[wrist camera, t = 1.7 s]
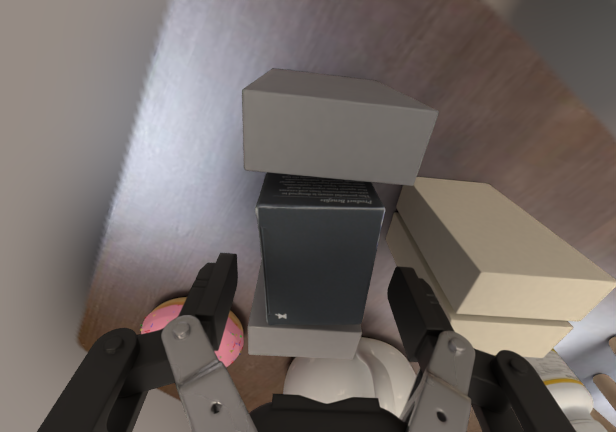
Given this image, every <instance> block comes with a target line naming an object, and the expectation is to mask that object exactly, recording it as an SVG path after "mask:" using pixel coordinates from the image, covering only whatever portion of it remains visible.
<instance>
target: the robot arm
mask: <svg viewBox="0 0 616 432" xmlns="http://www.w3.org/2000/svg"><path fill="white" fill-rule="evenodd" d="M237 281H238V272H237V255H236V254H230V253H220V254H219V257H218V259H217V262H216V263H207V264H206V265H205V266H204V267H203V268H202V269H200V271H199V273H198V275H197V277H196V280H195V282H194V284H193V286H192V288H191V290H190V292H189V294H188V296H187V298H186V300H185V303H184V305H183V307H182V309H181V311H180V313H179V315H178V317H177V318H175V319H173V320H171V321H170V322H169V323H168V324H167V325H166V326H165V327H164V328H162V329H160V330H157V331H153V332H148V333H144V334H139V335H136V333H135V332H134V331H133V330H131V329H128V328H119V329H115V330H112V331H110V332H108V333H106V334H104V335H103V336H101V337H100V338H99V339H98V340H97V341H96V342H95V343H94V344H93V346H92V347H91V349H90V350H89V352H88V354H87V355H86V357H85V358H84V360H83V361H82V363H81V364H80V366H79V367H78V369H77V371H76V372H75V374H74V375H73V377H72V378H71V380H70V381H69V383H68V385H67V386H66V388H65V390H64V391H63V392H62V394H61V395H60V397H59V398H58V400H57V402H56V403H55V405H54V406H53V408H52V409H51V411H50V412H49V414H48V416H47V417H46V419H45V420H44V422H43V423H42V425H41V426H40V428H39V429H38V431H37V432H132V431H133V428H134V426H135V423H136V421H137V418H138V415H139V413H140V411H141V408H142V406H143V403H144V401H145V398H146V396H147V393H148V391H149V390H151V389H155V388H158V387H162V386H165V385H169V384H172V383H175V384H176V387H177V390H178V393H179V396H180V399H181V402H182V405H183V408H184V411H185V414H186V417H187V420H188V423H189V426H190V429H191V432H467V426H468V421H469V415H470V410H471V405H472V407H473V409H474V412H475V414H476V417H477V419H478V421H479V424H480V426H481V429H482V431H483V432H576V430H575V429H574V427H573V426H572V424H571V423H570V421H569V420H568V418H567V417H566V415H565V414H564V412H563V411H562V409H561V408H560V406H559V405H558V403H557V402H556V400H555V399H554V397H553V396H552V394H551V393H550V391H549V390H548V388H547V387H546V385H545V384H544V382H543V381H542V379H541V378H540V376H539V375H538V373H537V372H536V370H535V369H534V367H533V366H532V365H531V364H530V363H529V362H528V361H527V360H526V359H525V358H524V357H522V356H521V355H519V354H517V353H515V352H513V351H510V350H501V351H499V352H498V353H497V355H496V356H494V355H492V354H489V353H486V352H483V351H480V350H477V349H475V348H473V346H472V345H471V343H470V342H469V341H468V340H467V339H466V338H465V337H463V336H462V335H460V334H458V333H456V332H455V331H454V329H453V327H452V326H451V324H450V322H449V320H448V318H447V316H446V314H445V312H444V310H443V309H442V307H441V305H440V304H439V301H438V299H437V297H435V294H434V292H433V290H432V288H431V286H430V285H429V284H428V283H427V282H426V281H425V280H424V279H423V278H418V276H417V274H416V272H415V270H414V269H413V268H412V267H400V266H397V267H396V268H395V270H394V273H393V276H392V279H391V281H390V284H389V287H388V300H389V303H390V306H391V309H392V312H393V315H394V318H395V321H396V324H397V327H398V330H399V333H400V336H401V339H402V342H403V345H404V348H405V351H406V354H407V357H408V360H409V362H418V363H419V366H420V369H419V370H418V373H417V375H416V378H415V381H414V383H413V386H412V388H411V391H410V394H409V396H408V399H407V401H406V404H405V406H404V409H403V411H402V413H401V415H400V417H399V418H398V417H397V416H396V415H394V414H393V413H391V412H390V411H388V410H386V409H384V408H381V407H380V404H379V399H378V398H365V397H351V398H347V399H344V400H340V401H336V402H332V403H328V404H326V403H322V402H319V401H316V400H313V399H310V398H307V397H304V396H301V395H293V394H273V398H272V402H270V403H266V404H264V405H261V406H259V407H258V408H256V409H254V410H253V411H251V412H250V413H248V411H247V409H246V407H245V405H244V403H243V401H242V399H241V397H240V395H239V393H238V391H237V389H236V387H235V385H234V383H233V381H232V379H231V377H230V375H229V373H228V371H227V369H226V367H225V365H224V363H223V362H222V361H219V359H218V358H217V356H216V353H215V351H219V347H220V344H221V340H222V337H223V333H224V330H225V326H226V323H227V319H228V316H229V312H230V309H231V305H232V302H233V298H234V295H235V291H236V287H237ZM511 407H512V408H511ZM512 409H513V410H512ZM515 414H516V415H515ZM516 416H517V417H516ZM517 418H518V419H517ZM518 420H519V421H518ZM519 422H520V423H519ZM520 424H521V425H520ZM521 426H522V427H521ZM522 428H523V429H522Z"/></svg>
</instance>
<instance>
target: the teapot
mask: <svg viewBox="0 0 616 432" xmlns="http://www.w3.org/2000/svg"><path fill="white" fill-rule="evenodd" d="M415 378H416V375H415V373H414V371H413V369H412V367H411V365H410V363H409V362H408V360H407V359H406V358H405V356H404V355H403V354H402V353H401V352H400V351H398V350H397V349H396V348H394V347H393V346H391V345H389V344H387V343H385V342H382V341H379V340H376V339H371V338H365V337H361V338H360V340H359V343H358V346H357V349H356V352H355V355H354V358H353V359H352V360H349V359H329V358H310V357H296V358H295V359H294V360H293V361H292V363H291V365H290V367H289V369H288V371H287V374H286V378H285V383H284V391H283V394H293V395H301V396H304V397H307V398H310V399H313V400H316V401H319V402H322V403H326V404H328V403H332V402H336V401H340V400H344V399H347V398H351V397H365V398H378V399H379V404H380V407H381V408H384V409H386V410H388V411H390V412H391V413H393V414H394V415H396V416H397V417H398V418H399V417H400V415H401V413H402V411H403V409H404V406H405V404H406V401H407V399H408V396H409V394H410V391H411V388H412V386H413V383H414V381H415Z"/></svg>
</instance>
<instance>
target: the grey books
mask: <svg viewBox="0 0 616 432" xmlns="http://www.w3.org/2000/svg"><path fill="white" fill-rule="evenodd" d="M242 111H243V151H244V169H245V170H247V171H258V172H269V173H279V174H290V175H301V176H311V177H322V178H333V179H344V180H354V181H365V182H376V183H386V184H397V185H408V186H413V185H414V183H415V180H416V177H417V174H418V171H419V168H420V165H421V163H422V160H423V157H424V154H425V151H426V148H427V145H428V142H429V140H430V137H431V134H432V131H433V128H434V125H435V122H436V120H437V117H438V114H439V111H437V110H435V109H433V108H431V107H429V106H427V105H425V104H423V103H421V102H419V101H417V100H415V99H413V98H411V97H409V96H407V95H405V94H403V93H401V92H398V91H396V90H394V89H392V88H390V87H388V86H386V85H384V84H382V83H380V82H378V81H376V80H368V79H359V78H351V77H342V76H334V75H325V74H317V73H308V72H300V71H291V70H283V69H274V68H273V69H271V70H270V71H269V72H267V73H266V74H264V75H263V76H261V77H260V78H258V79H257V80H255V81H254V82H253V83H251V84H250V85H248V86H247V87H245V88H244V89H243V90H242ZM361 335H362V330H361V325H360V324H355V325H268V323H267V321H266V305H265V290H264V279H263V266H262V260H261V265H260V269H259V274H258V279H257V284H256V289H255V294H254V299H253V303H252V308H251V313H250V318H249V323H248V353H249V354H251V355H270V356H290V357H310V358H329V359H349V360H352V359H353V358H354V355H355V352H356V349H357V346H358V343H359V340H360V338H361Z"/></svg>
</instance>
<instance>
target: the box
mask: <svg viewBox="0 0 616 432" xmlns="http://www.w3.org/2000/svg"><path fill="white" fill-rule="evenodd" d="M255 212H256V216H257V222H258V230H259V238H260V249H261V257H262V266H263V279H264V290H265V305H266V321H267V323H268V325H355V324H361V323H362V319H363V314H364V309H365V304H366V300H367V294H368V290H369V285H370V280H371V275H372V270H373V266H374V261H375V256H376V251H377V246H378V241H379V237H380V232H381V227H382V223H383V218H384V214H385V208H384V206H383V204H382V202H381V201H380V199H379V197H378V194H377V193H376V191H375V189H374V187H373V185H372V183H371V182H365V181H354V180H344V179H333V178H322V177H311V176H301V175H290V174H279V173H269V172H267V173H266V176H265V179H264V183H263V186H262V189H261V192H260V196H259V199H258V202H257V205H256V207H255Z"/></svg>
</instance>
